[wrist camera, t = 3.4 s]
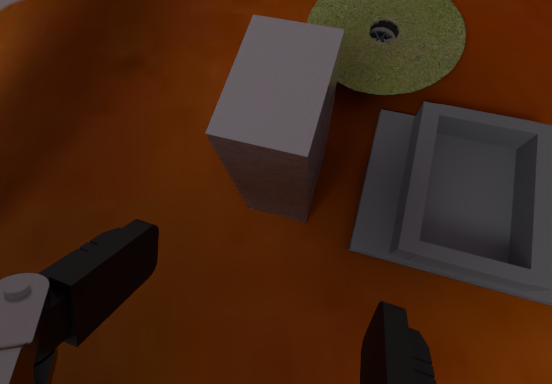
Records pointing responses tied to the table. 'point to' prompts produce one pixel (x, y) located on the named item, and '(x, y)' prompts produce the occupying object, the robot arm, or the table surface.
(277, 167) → the tall grey rectangular box
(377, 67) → the green round disc
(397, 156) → the grey tray
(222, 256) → the table surface
